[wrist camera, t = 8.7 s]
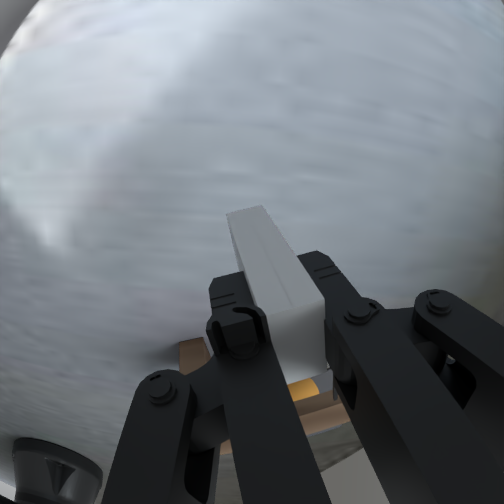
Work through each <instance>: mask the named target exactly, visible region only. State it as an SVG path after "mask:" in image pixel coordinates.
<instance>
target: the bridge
mask: <svg viewBox="0 0 504 504" xmlns="http://www.w3.org/2000/svg"><path fill="white" fill-rule="evenodd" d="M210 359H211V356H210V354H209V351H208V349H207V346H206V344H205V341H204V339H203V337H201V338H197V339H192V340H187V341H183V342H179V372H180V373H182V374H184V375H187V374H189V373H191V372H193V371H195V370H197V369H198V368H200V367H202V366H203V365H205V364H206V363H207V362H208V361H209V360H210ZM294 404H295V407H296V410H297V413H298V415H299V418H300V421H301V423H302V426H303V429H304V431H305V434H306V435H308V434H312V433H315V432H318V431H322V430H325V429H328V428H331V427H334V426H337V425H340V424H343V423H346V422H348V421H351V420H350V418H349V416H348V414H347V412H346V410H345V408H344V406H343V404H342V402H341V399H340V397H339V395H338V399H337V400H336V401H334V399H333V390H330V391H327V392H324V393H321V394H317V395H314V396H311V397H308V398H304V399H301V400H297V401H294ZM228 453H232V448H231V443H230V439H229V440H227V441H225V442H223V443H221V447H220V455H223V454H228Z"/></svg>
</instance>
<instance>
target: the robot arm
mask: <svg viewBox="0 0 504 504" xmlns="http://www.w3.org/2000/svg"><path fill="white" fill-rule="evenodd" d="M226 216H227V220H228V225H229V229H230V233H231V238H232V242H233V246H234V251H235V255H236V259H237V263H238V267H239V271H240V272H237V273H233V274H229V275H225V276H221V277H217V278H214V279H213V281H212V283H211V285H210V287H209V295H210V302H211V308H212V316H211V317H210V319H209V320H208V322H207V325H206V333H207V336H208V338H209V341H210V343H211V346H212V349H213V351H214V354H213V356H212V357H211V359H210V360H209V361H208V362H207V363H206V364H205V365H203V366H202V367H200V368H198V369H197V370H195V371H193V372H191V373H189V374H187V375H184V374H182V373H180V372H179V371H176V370H169V369H167V370H161V371H157V372H154V373H152V374H150V375H148V376H147V377H146V378H145V379H144V380H143V381H141V382H140V384H139V386H138V388H137V389H136V391H135V394H134V397H133V400H132V403H131V406H130V409H129V412H128V415H127V418H126V421H125V424H124V428H123V431H122V434H121V437H120V440H119V443H118V447H117V450H116V453H115V456H114V460H113V463H112V467H111V470H110V473H109V477H108V480H107V484H106V488H105V491H104V495H103V498H102V502H101V504H214V501H215V492H216V483H217V474H218V465H219V456H220V447H221V443H223V442H225V441H227V440H229V439H230V443H231V448H232V453H233V458H234V463H235V468H236V472H237V477H238V482H239V486H240V491H241V496H242V500H243V504H332V503H331V500H330V498H329V495H328V493H327V490H326V487H325V485H324V482H323V479H322V477H321V474H320V471H319V469H318V466H317V463H316V461H315V458H314V455H313V453H312V450H311V447H310V445H309V442H308V439H307V437H306V434H305V431H304V429H303V426H302V423H301V421H300V418H299V415H298V413H297V410H296V407H295V404H294V402H293V399H292V396H291V394H290V391H289V388H288V385H287V384H291V383H294V382H297V381H301V380H304V379H307V378H310V377H313V376H316V375H319V374H323V373H326V372H327V362H328V364H329V366H330V368H331V370H332V371H333V399H334V401H336V400H337V399H338V395H339V397H340V399H341V402H342V404H343V406H344V408H345V410H346V412H347V414H348V416H349V418H350V420H351V422H352V424H353V426H354V429H355V431H356V433H357V435H358V437H359V439H360V441H361V443H362V445H363V447H364V449H365V451H366V453H367V456H368V458H369V460H370V462H371V464H372V466H373V468H374V471H375V473H376V475H377V477H378V479H379V481H380V483H381V485H382V488H383V490H384V492H385V494H386V496H387V498H388V500H389V503H390V504H504V472H503V471H504V327H503V326H502V325H500V324H499V323H497V322H496V321H494V320H493V319H491V318H490V317H488V316H487V315H485V314H484V313H482V312H480V311H479V310H477V309H476V308H474V307H473V306H471V305H470V304H468V303H466V302H465V301H463V300H462V299H460V298H458V297H457V296H455V295H454V294H452V293H449V292H447V291H445V290H438V289H433V290H427V291H424V292H422V293H420V294H419V295H418V296H417V297H416V299H415V304H414V307H410V308H401V309H385V308H384V307H383V306H382V305H381V304H379V303H378V302H377V301H375V300H372V299H369V298H364V297H361V296H360V294H359V293H358V292H357V291H356V289H355V288H354V287H353V286H352V285H351V283H350V282H349V281H348V280H347V278H346V277H345V276H344V275H343V273H341V271H340V270H339V269H338V267H337V266H335V264H334V262H333V261H332V260H331V259H330V258H329V256H327V255H325V254H323V253H321V252H319V251H313V252H309V253H305V254H302V255H298V256H296V255H295V253H294V252H293V250H292V249H291V247H290V246H289V244H288V243H287V241H286V240H285V238H284V237H283V235H282V234H281V232H280V231H279V229H278V228H277V226H276V225H275V223H274V222H273V220H272V219H271V217H270V216H269V214H268V213H267V212H266V210H265V209H264V207H263V206H262V205H260V206H256V207H251V208H247V209H243V210H239V211H235V212H231V213H227V214H226ZM448 354H449V355H450V356H451V357H453V358H454V359H455V360H451V359H450V358H448ZM12 458H13V461H14V471H15V482H16V494H15V500H14V501H12V500H10V499H8V498H6V497H4V496H2V495H0V504H94V502H95V500H96V497H97V495H98V492H99V490H100V489H101V487H102V480H103V472H102V470H101V469H100V468H99V467H98V466H97V465H96V464H95V463H93V462H92V461H90V460H89V459H87V458H85V457H83V456H81V455H79V454H77V453H75V452H73V451H70V450H68V449H66V448H63V447H60V446H57V445H54V444H51V443H48V442H44V441H40V440H36V439H28V438H22V439H18V440H16V441H15V443H14V447H13V451H12Z"/></svg>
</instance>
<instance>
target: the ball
mask: <svg viewBox="0 0 504 504" xmlns="http://www.w3.org/2000/svg"><path fill="white" fill-rule="evenodd" d="M287 385H288V388H289V391H290V394H291V396H292V399H293V402H294V401H297V400H301V399H304V398H308V397H311V396H314V395H317V394H319V390H318V388H317V386H316V384H315V383H314V381H313V380H312V379H311V378H307V379H304V380H301V381H297V382H294V383H291V384H287Z"/></svg>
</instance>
